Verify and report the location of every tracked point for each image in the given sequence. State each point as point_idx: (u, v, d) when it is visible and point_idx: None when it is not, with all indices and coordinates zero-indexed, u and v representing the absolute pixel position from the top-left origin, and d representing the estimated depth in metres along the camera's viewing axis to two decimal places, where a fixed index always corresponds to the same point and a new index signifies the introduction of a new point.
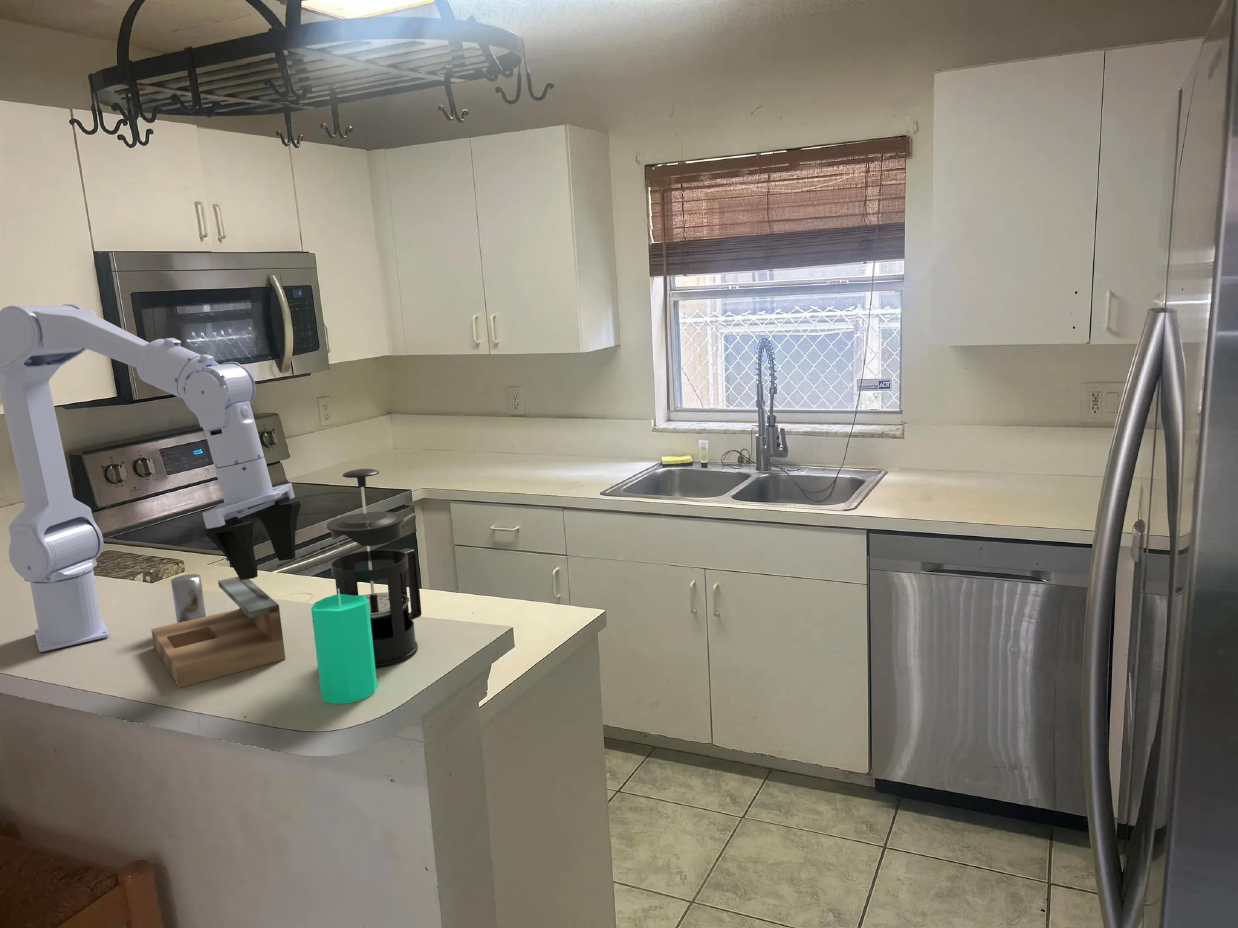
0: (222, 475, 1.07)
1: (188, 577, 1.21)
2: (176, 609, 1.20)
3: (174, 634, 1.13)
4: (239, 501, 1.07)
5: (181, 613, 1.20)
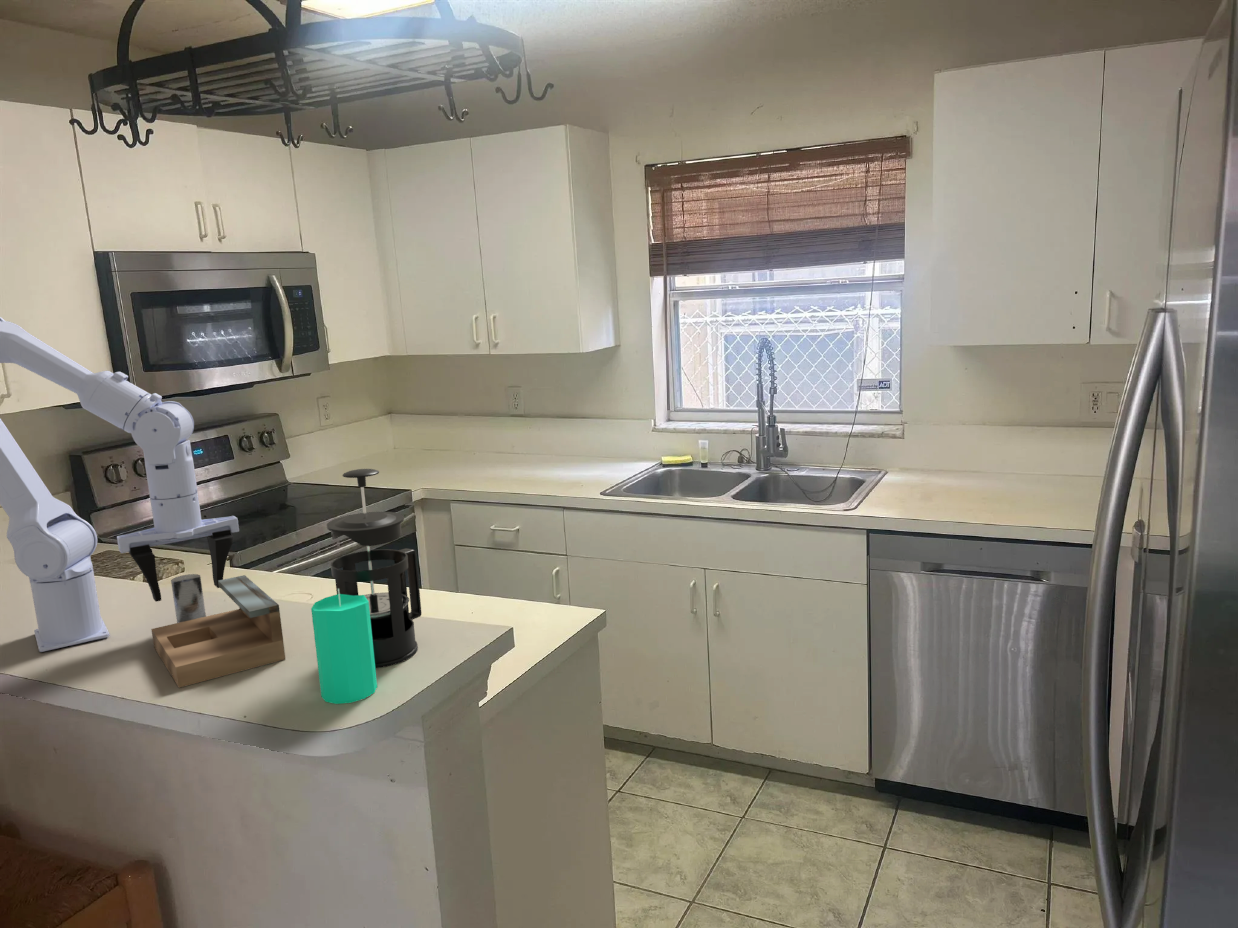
0: None
1: (188, 577, 1.21)
2: (176, 609, 1.20)
3: (174, 634, 1.13)
4: (156, 531, 1.17)
5: (181, 613, 1.20)
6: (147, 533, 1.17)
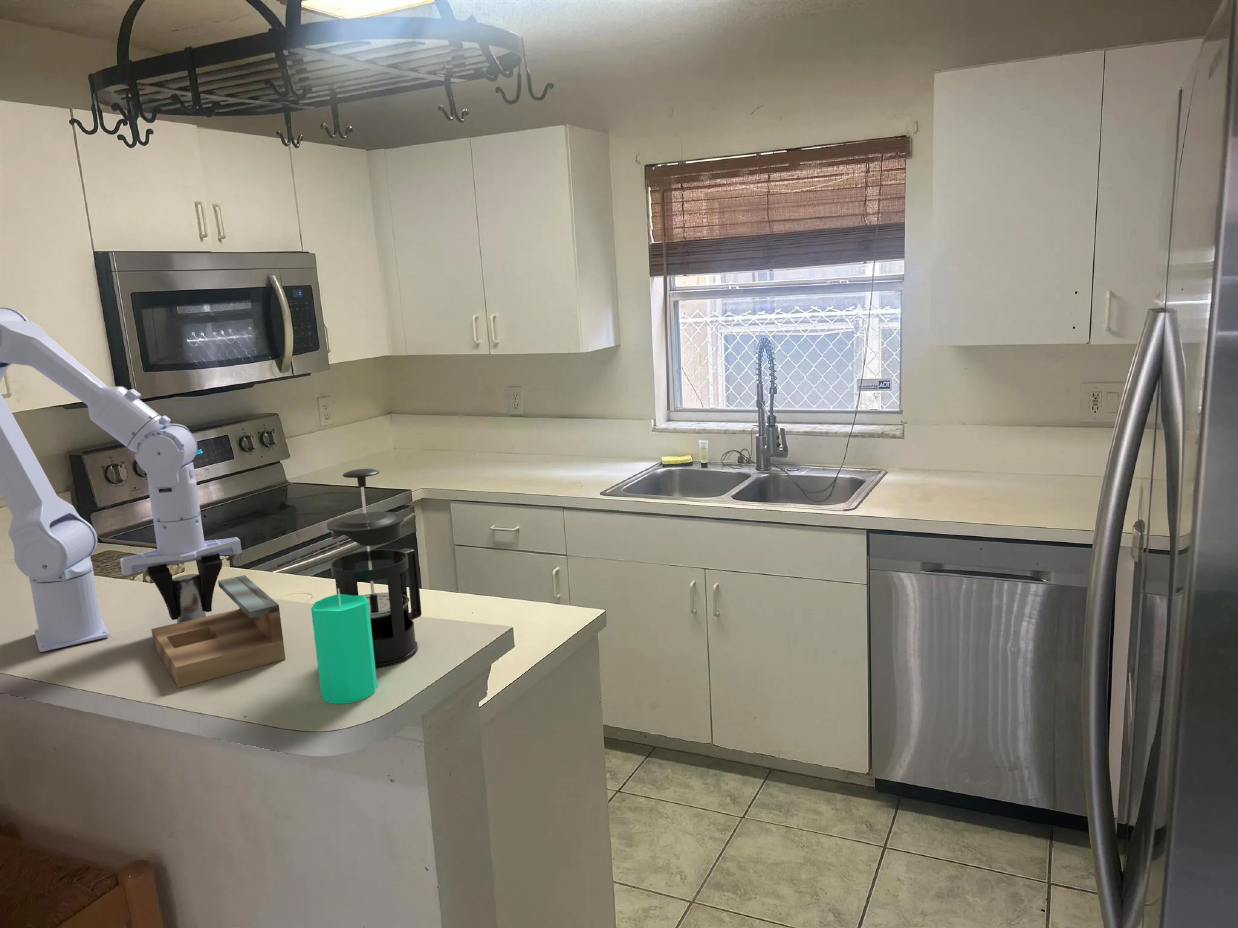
0: None
1: (188, 577, 1.21)
2: None
3: (174, 634, 1.13)
4: (159, 553, 1.18)
5: (181, 613, 1.20)
6: (150, 555, 1.18)
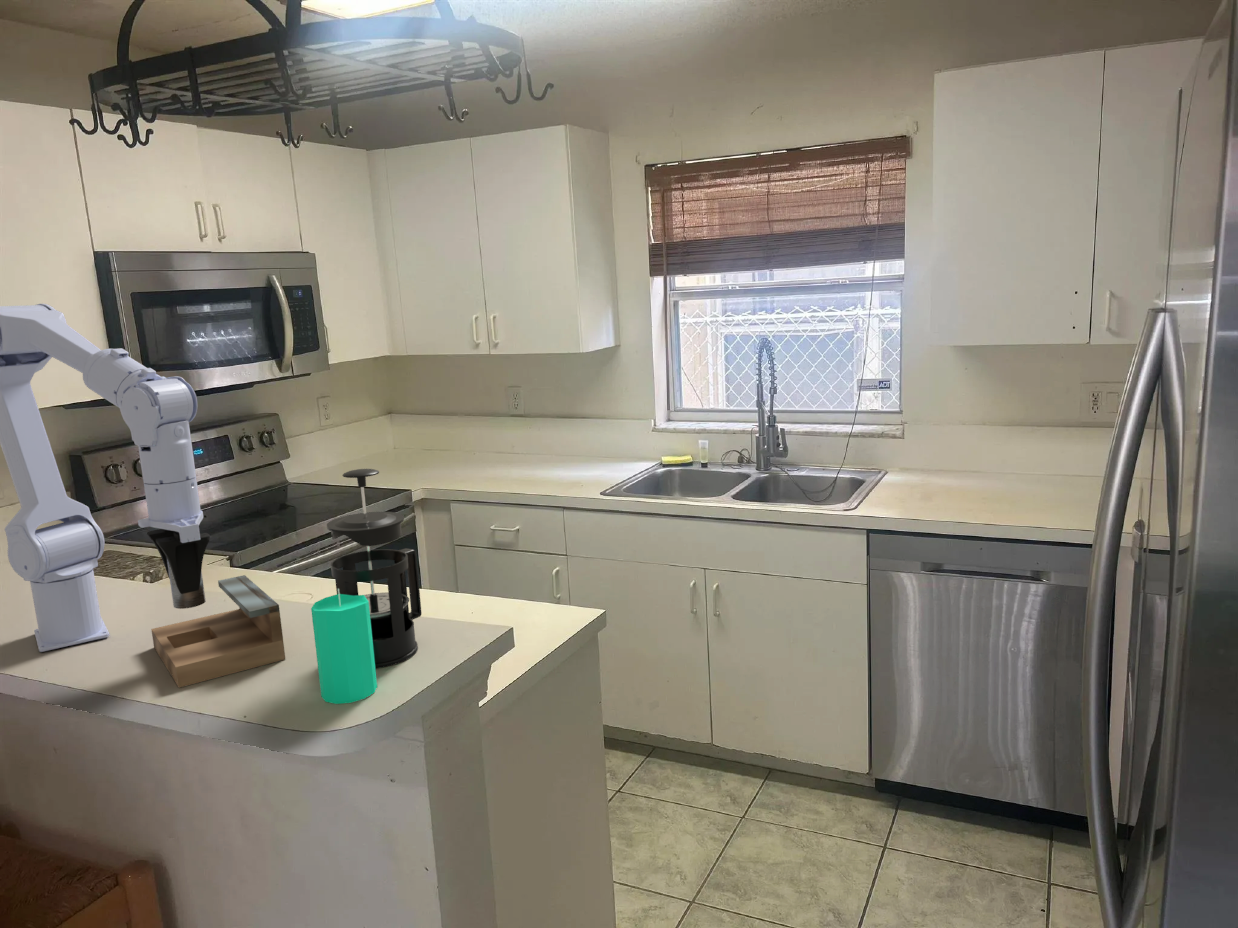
0: None
1: None
2: None
3: (174, 634, 1.13)
4: None
5: None
6: None
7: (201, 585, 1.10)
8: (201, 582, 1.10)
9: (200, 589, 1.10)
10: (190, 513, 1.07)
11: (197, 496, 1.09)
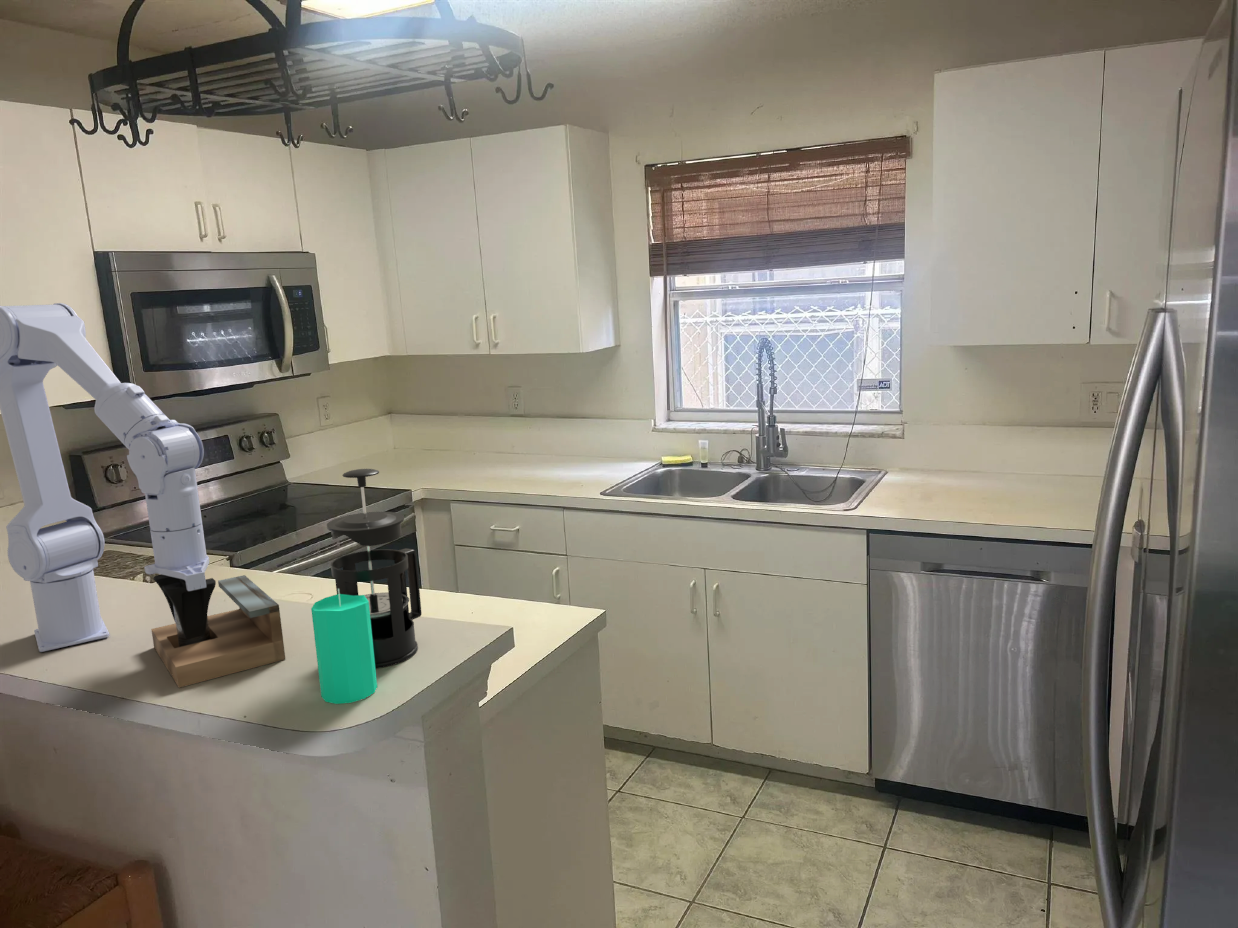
0: None
1: None
2: None
3: (174, 634, 1.13)
4: None
5: None
6: None
7: (207, 629, 1.11)
8: (207, 626, 1.11)
9: (206, 633, 1.11)
10: (196, 559, 1.08)
11: (203, 542, 1.10)
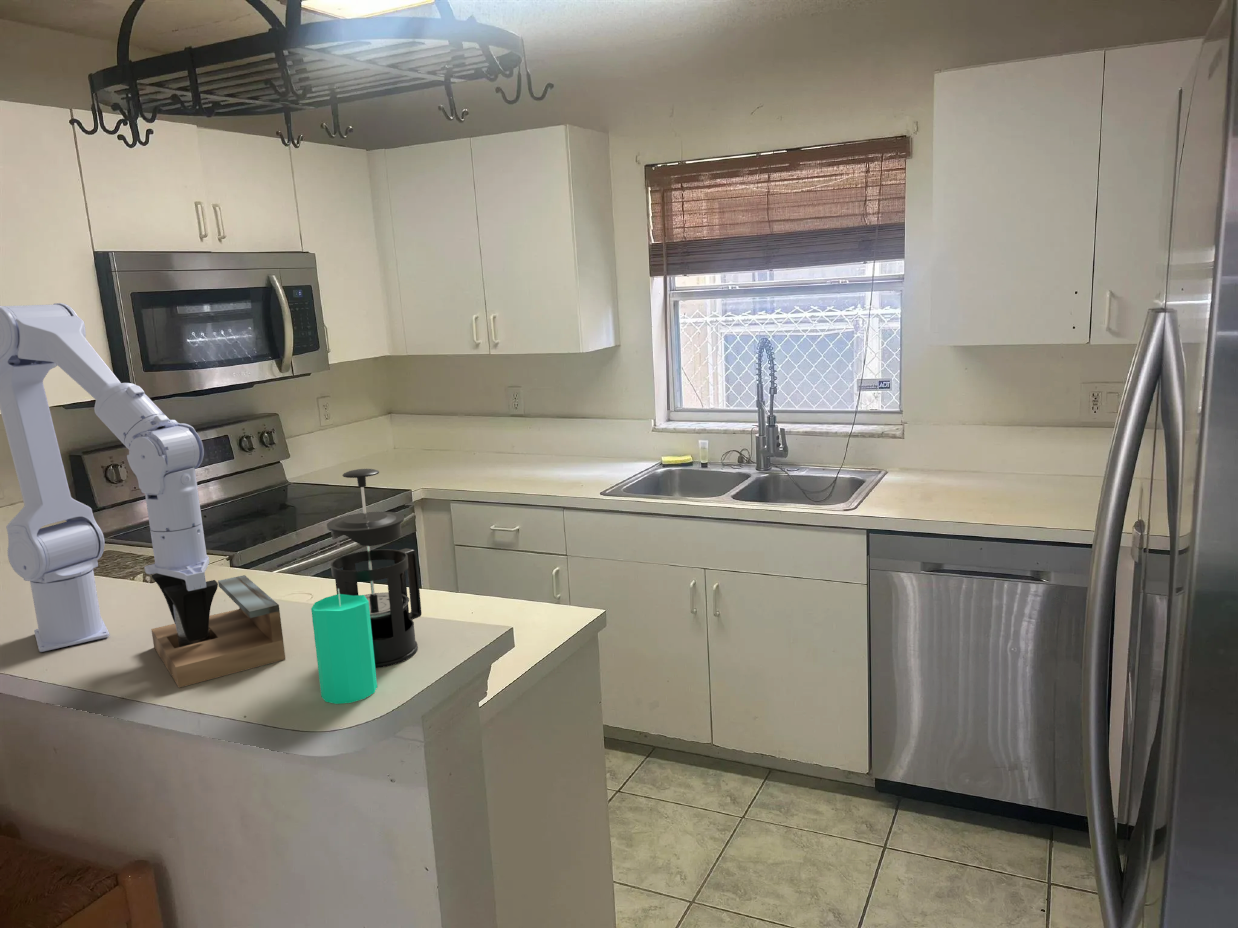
0: None
1: None
2: None
3: (174, 634, 1.13)
4: None
5: None
6: None
7: (208, 638, 1.11)
8: (208, 635, 1.12)
9: None
10: (196, 559, 1.08)
11: (203, 542, 1.10)
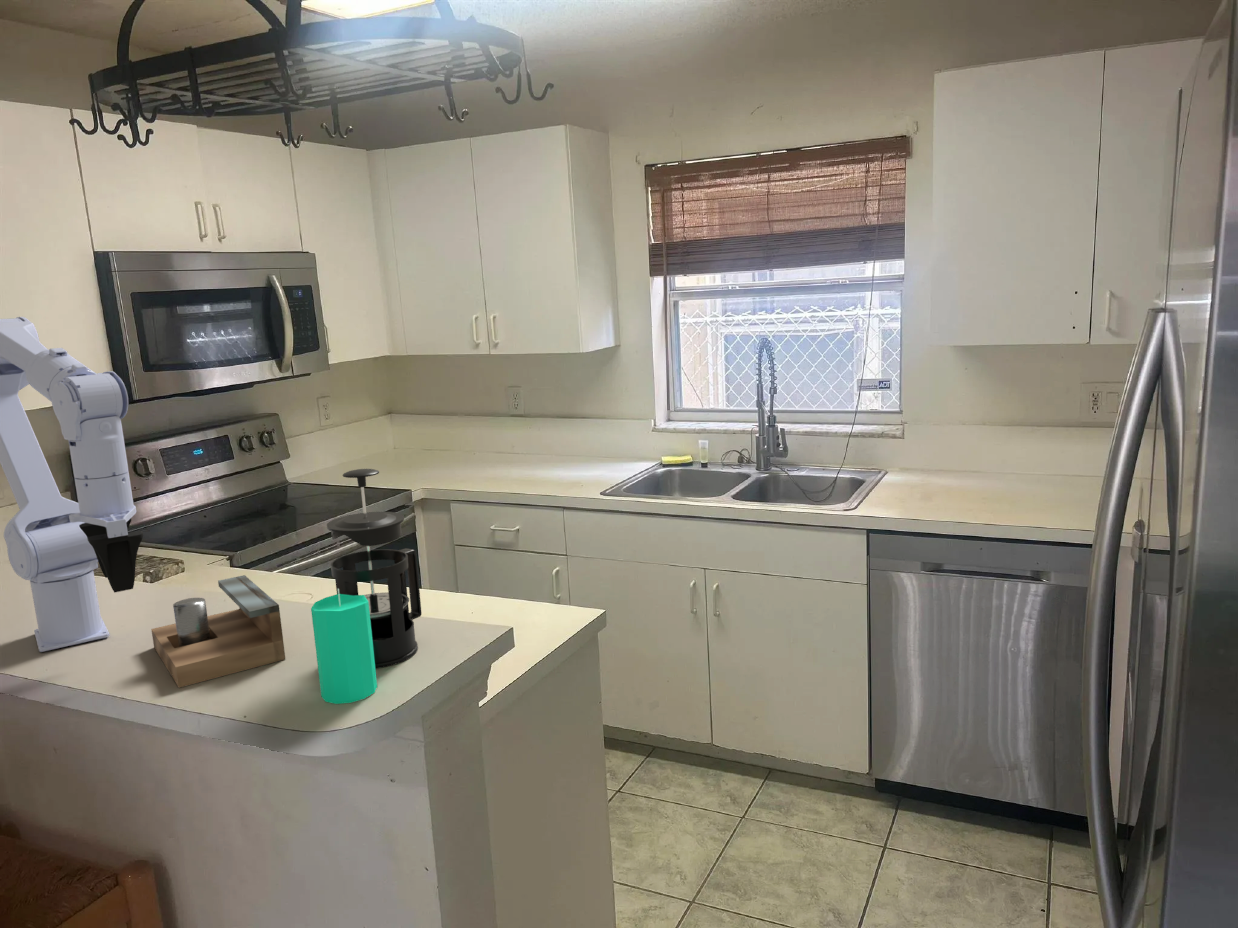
0: None
1: (191, 602, 1.10)
2: None
3: (174, 634, 1.13)
4: None
5: None
6: None
7: (208, 638, 1.11)
8: (208, 635, 1.12)
9: None
10: (121, 508, 1.07)
11: (129, 491, 1.08)
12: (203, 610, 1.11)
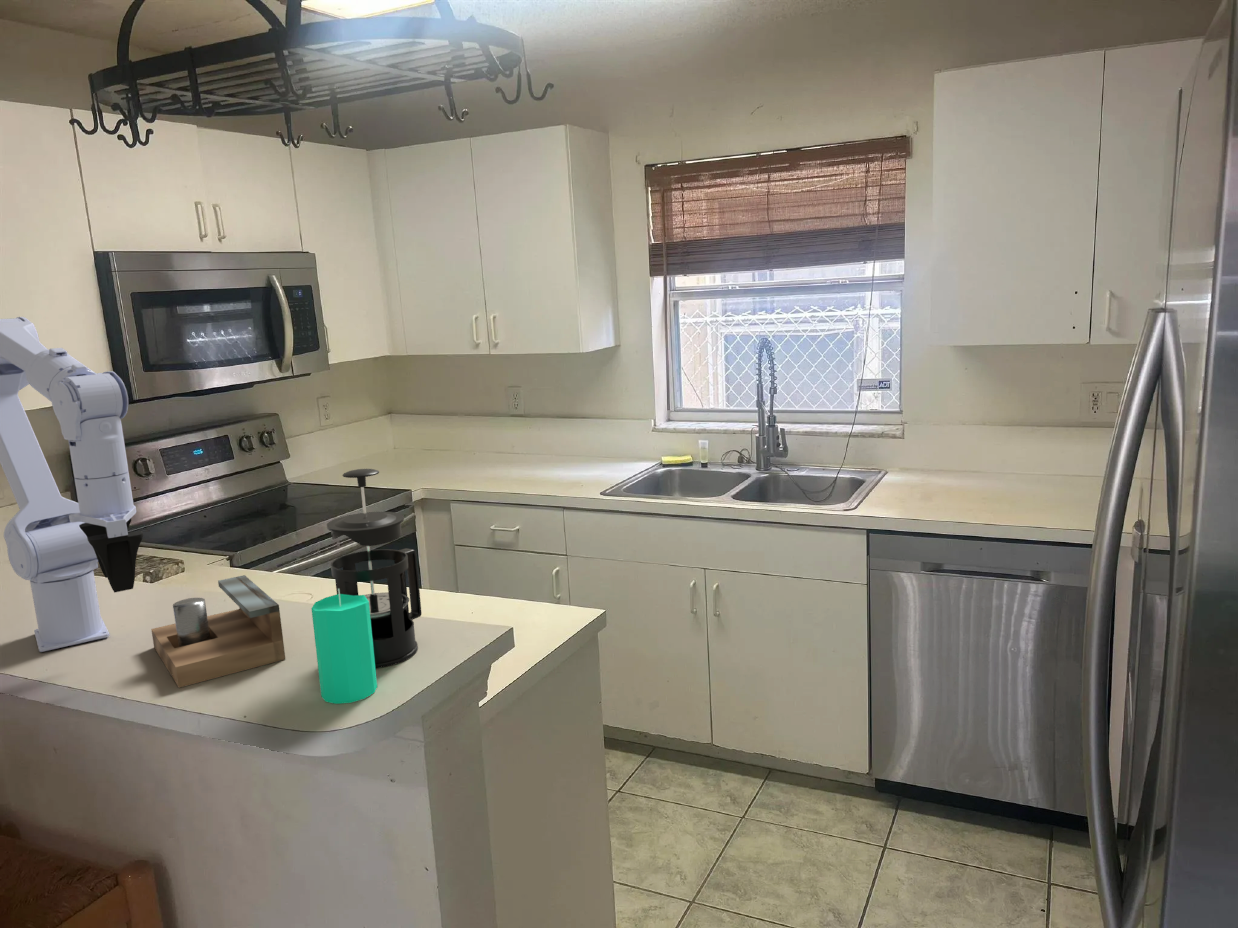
0: None
1: (191, 602, 1.10)
2: None
3: (174, 634, 1.13)
4: None
5: None
6: None
7: (208, 638, 1.11)
8: (208, 635, 1.12)
9: None
10: (121, 508, 1.07)
11: (129, 491, 1.08)
12: (203, 610, 1.11)
